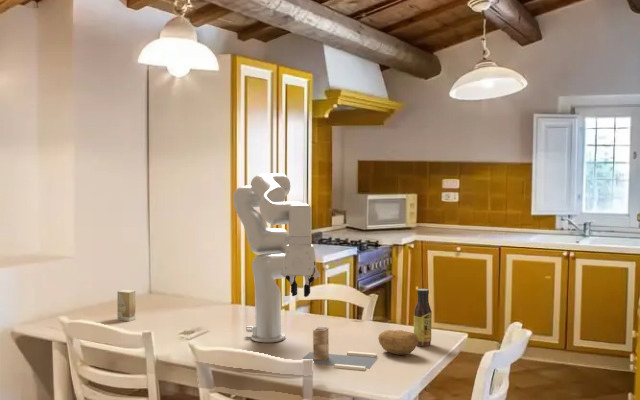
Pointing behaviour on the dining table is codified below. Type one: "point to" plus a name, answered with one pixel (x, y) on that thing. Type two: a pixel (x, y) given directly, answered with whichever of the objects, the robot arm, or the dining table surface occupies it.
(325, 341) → the oak block
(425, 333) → the sauce bottle
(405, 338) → the potato
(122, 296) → the skincare box
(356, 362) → the plate
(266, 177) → the robot arm
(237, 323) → the dining table surface
